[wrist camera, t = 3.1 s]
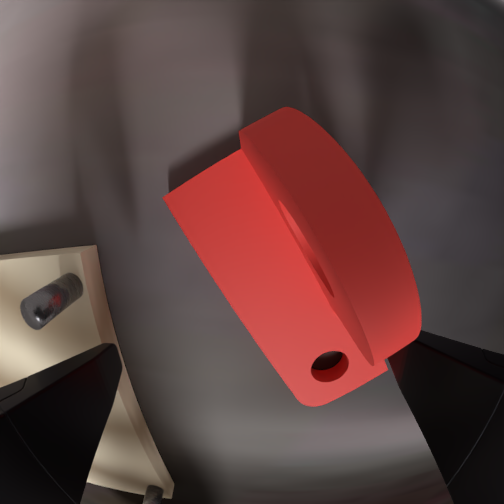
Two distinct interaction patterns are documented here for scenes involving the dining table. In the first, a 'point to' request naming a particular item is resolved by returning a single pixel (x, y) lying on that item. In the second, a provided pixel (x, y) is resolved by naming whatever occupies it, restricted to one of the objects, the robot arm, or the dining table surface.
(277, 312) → the bracket
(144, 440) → the peg board
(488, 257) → the dining table surface
